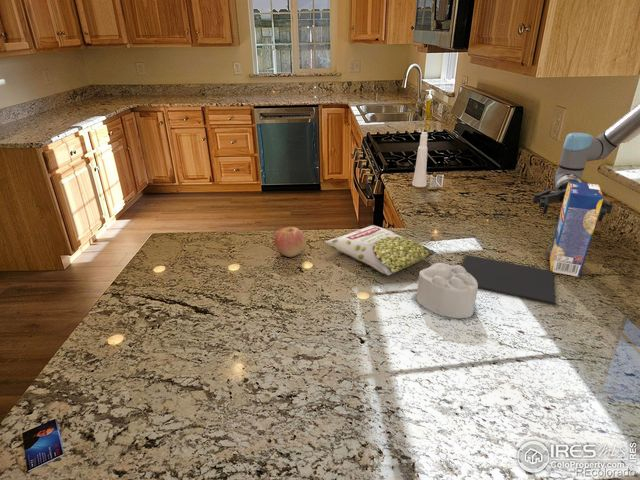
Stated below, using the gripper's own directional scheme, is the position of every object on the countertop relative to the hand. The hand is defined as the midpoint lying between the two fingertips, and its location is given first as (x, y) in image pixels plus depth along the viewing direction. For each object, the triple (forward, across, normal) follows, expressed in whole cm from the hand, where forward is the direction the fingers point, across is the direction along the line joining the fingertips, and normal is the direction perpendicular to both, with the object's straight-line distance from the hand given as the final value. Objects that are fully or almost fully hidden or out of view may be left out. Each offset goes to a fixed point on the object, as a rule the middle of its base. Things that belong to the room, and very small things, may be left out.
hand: (573, 213), depth 118 cm
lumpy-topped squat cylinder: (+40, -26, +13) cm, 49 cm away
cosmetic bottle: (-44, -52, +13) cm, 69 cm away
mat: (+22, -14, +12) cm, 29 cm away
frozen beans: (+24, -48, +13) cm, 55 cm away
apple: (+33, -72, +13) cm, 80 cm away
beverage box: (+8, 0, +13) cm, 15 cm away
